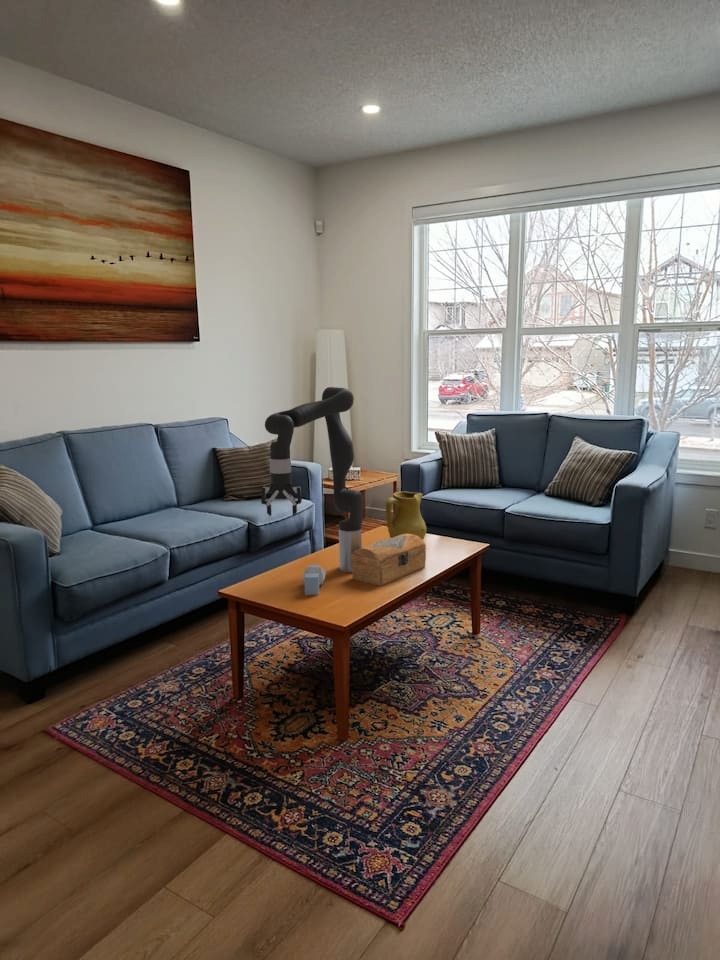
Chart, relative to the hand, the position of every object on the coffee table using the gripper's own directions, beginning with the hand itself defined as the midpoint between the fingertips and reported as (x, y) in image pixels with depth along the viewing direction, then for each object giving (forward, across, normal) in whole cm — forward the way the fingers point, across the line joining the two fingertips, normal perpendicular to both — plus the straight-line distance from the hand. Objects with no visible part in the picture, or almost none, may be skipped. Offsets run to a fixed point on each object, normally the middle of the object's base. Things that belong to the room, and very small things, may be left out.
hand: (282, 515), depth 243 cm
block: (+30, -10, -2) cm, 32 cm away
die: (+25, -10, -5) cm, 28 cm away
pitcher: (+30, -49, -63) cm, 85 cm away
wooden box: (+30, -40, -24) cm, 56 cm away
